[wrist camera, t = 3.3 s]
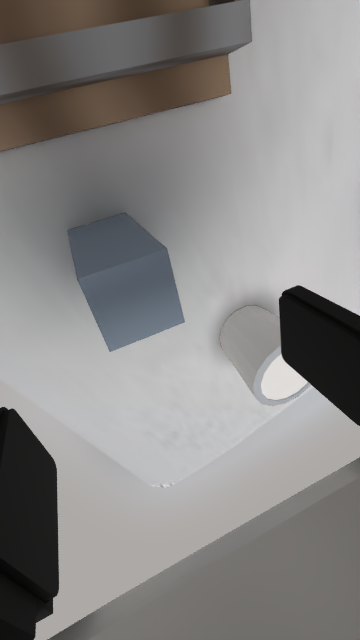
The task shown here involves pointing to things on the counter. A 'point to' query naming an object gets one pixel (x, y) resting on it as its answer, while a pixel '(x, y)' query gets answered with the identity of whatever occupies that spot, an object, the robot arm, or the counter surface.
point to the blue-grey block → (125, 279)
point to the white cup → (260, 355)
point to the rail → (110, 61)
